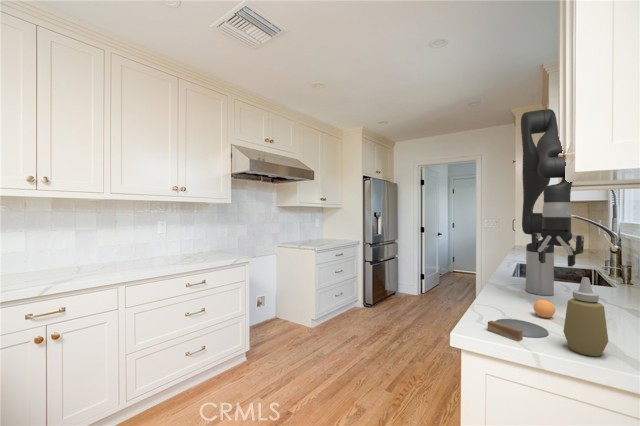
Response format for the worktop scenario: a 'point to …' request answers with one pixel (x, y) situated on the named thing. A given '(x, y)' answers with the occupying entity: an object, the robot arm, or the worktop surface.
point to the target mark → (525, 327)
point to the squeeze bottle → (585, 321)
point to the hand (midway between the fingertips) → (556, 264)
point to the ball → (544, 308)
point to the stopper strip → (505, 330)
